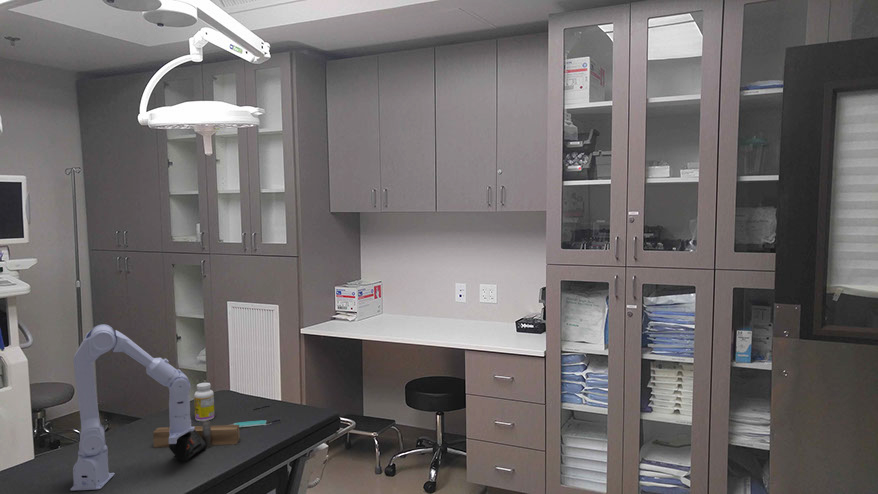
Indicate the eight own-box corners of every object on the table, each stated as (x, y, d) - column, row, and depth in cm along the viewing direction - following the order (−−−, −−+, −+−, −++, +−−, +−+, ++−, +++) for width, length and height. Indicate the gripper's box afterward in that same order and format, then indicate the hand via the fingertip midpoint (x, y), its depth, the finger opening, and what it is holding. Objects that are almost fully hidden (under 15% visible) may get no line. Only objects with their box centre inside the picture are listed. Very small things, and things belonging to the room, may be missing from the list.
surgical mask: (271, 404, 226) (284, 411, 219) (271, 415, 226) (284, 422, 219) (216, 417, 212) (227, 425, 205) (216, 429, 213) (228, 437, 205)
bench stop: (235, 447, 196) (234, 422, 196) (151, 450, 194) (149, 426, 193) (239, 439, 203) (238, 415, 202) (158, 442, 200) (157, 418, 200)
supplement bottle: (194, 417, 224) (193, 382, 223) (213, 414, 226) (212, 380, 225) (195, 423, 218) (194, 388, 217) (215, 420, 220) (214, 385, 219)
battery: (173, 468, 184) (189, 456, 183) (159, 445, 186) (175, 433, 185) (197, 456, 196) (213, 444, 195) (184, 434, 197) (200, 423, 196)
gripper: (185, 422, 176) (187, 467, 177) (200, 405, 190) (202, 447, 191) (160, 422, 175) (162, 468, 176) (177, 406, 190) (178, 448, 191)
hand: (181, 458), depth 184 cm, fingers closed, pressing on battery
